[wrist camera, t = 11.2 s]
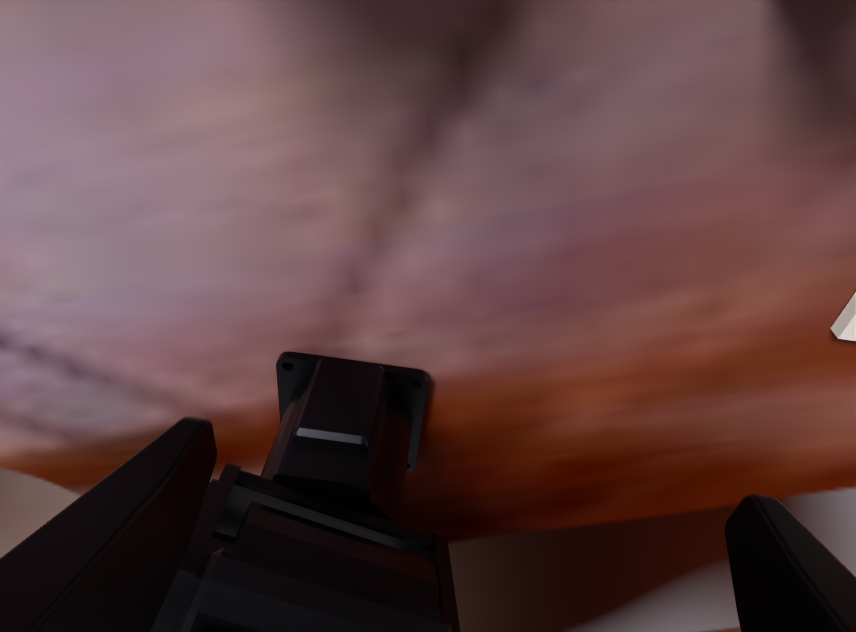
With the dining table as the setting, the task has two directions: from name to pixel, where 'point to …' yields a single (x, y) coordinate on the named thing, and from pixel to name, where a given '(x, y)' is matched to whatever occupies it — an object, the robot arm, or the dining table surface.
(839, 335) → the tile
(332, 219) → the dining table surface
